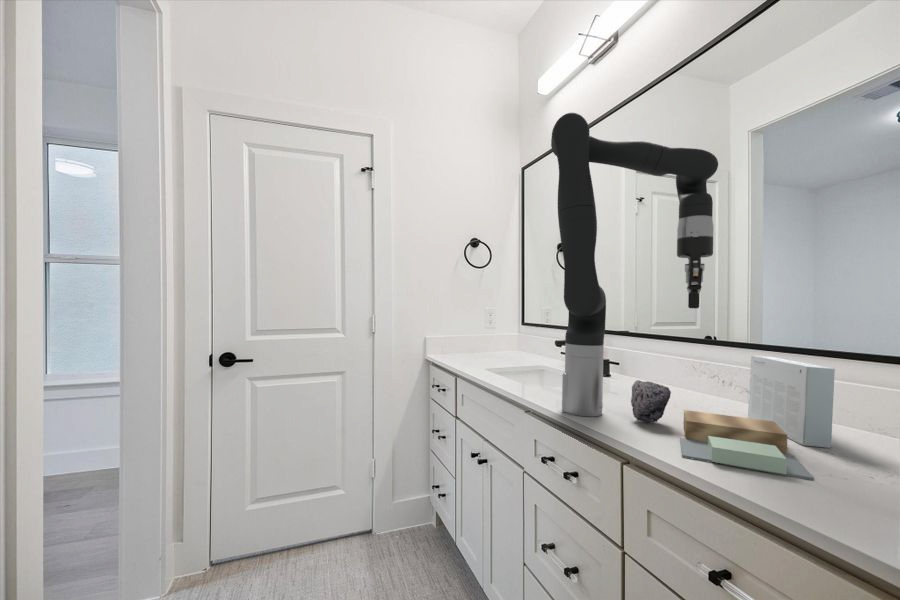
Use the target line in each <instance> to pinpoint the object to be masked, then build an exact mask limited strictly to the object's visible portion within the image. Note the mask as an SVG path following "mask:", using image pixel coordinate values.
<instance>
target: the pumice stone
mask: <svg viewBox="0 0 900 600" xmlns="http://www.w3.org/2000/svg"><path fill="white" fill-rule="evenodd" d="M671 394H672V391H671V389H670V388H669V387H668V386H665V385H663V384H659V383H655V382H653V381H648V380H647V381H642V380H635V381H634V383H633V384H632V386H631V399H630V404H631V407H632V409H631V410H632V415H633V418H635V419H636V420H637V421H640V422H643V423H645V424H651V423H655V422H656V423H658V421H659V420H660V419H661V418H662V417H663V416H664V413H665V409H666V407H667V405H668V402H669V401H670V398H671Z"/></svg>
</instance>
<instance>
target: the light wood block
mask: <svg viewBox="0 0 900 600" xmlns="http://www.w3.org/2000/svg"><path fill="white" fill-rule="evenodd" d="M683 432H684V438H685V439H691V440H698V441H704V442H708V436H713V437H720V438H726V439H733V440H740V441H747V442H753V443H760V444H767V445H774V446H776V447H777V448H778V449H779V450H780V452H781V453H782V454H787V455H788V438H787V434H786V433H785V432H784V431H783V430H782V429H781V428H780V427H779V426H778V425H777V424H776V423H775V422H774V421H767V420H759V419H751V418H748V417H743V416H742V417H741V416H734V415H726V414H718V413H711V412H702V411H695V410H694V411H693V410H688V409H687V410H686V409H683Z"/></svg>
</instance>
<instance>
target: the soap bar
mask: <svg viewBox="0 0 900 600" xmlns="http://www.w3.org/2000/svg"><path fill="white" fill-rule="evenodd" d="M708 451H709V454H710V457H711V460H712V462H717V463H716V464H718V463H723V464H722V465H724V464H729V465H734V466H733V467H735V466H740V467H739V468H741V467H746V468H752V469H758V470H763V471H769V472H775V473H781V474H786V475H787V459H786V457H785V456H784V455H783V454H782V453H781V452H780V450H779V449H778V448H777V447H776V446H774V445H767V444H760V443H753V442H747V441H740V440H733V439H726V438H720V437H713V436H708ZM712 462H711V463H712ZM729 465H728V466H729ZM746 468H745V469H746ZM752 469H751V470H752ZM758 470H757V471H758ZM763 471H762V472H763ZM769 472H768V473H769ZM775 473H774V474H775ZM786 475H785V476H786Z"/></svg>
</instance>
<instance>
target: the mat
mask: <svg viewBox="0 0 900 600" xmlns="http://www.w3.org/2000/svg"><path fill="white" fill-rule="evenodd" d="M679 442H680V450H681V451H680V452H681V458H684V457H687V458H686V459H690V458H693V459H692V460H695V459H698V460H697V461H701V460H703V461H702V462H707V461H709V462H708V463H712V460H711V457H710V454H709V451H708V442H704V441H698V440H691V439H685V437H679ZM783 455H784V456H785V457H786V459H787V475H786V474H781V473H775V472H769V471H763V470H758V469H752V468H746V467H740V466H734V465H729V464H723V463H720V464H719V465H724V466H731V467H735V468H741V469H746V470H747V469H748V470H752V471H758V472H765V473H769V474H774V475H775V474H776V475H780V476H781V475H782V476H787V477H793V478H797V479H798V478H799V479H803V480H804V479H805V480H808V481H809V480H810V481H815V477H814V476H813V475H812V473H811V472H810V471H809V470H808V469H807V468H806V467H805V466H804V465H803V463H802V462H801V461H800V460H799V459H798V458H797V457H796V456H795V455H793V454H788V453H787V454H783ZM714 464H718V463H717V462H715V463H714Z"/></svg>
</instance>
